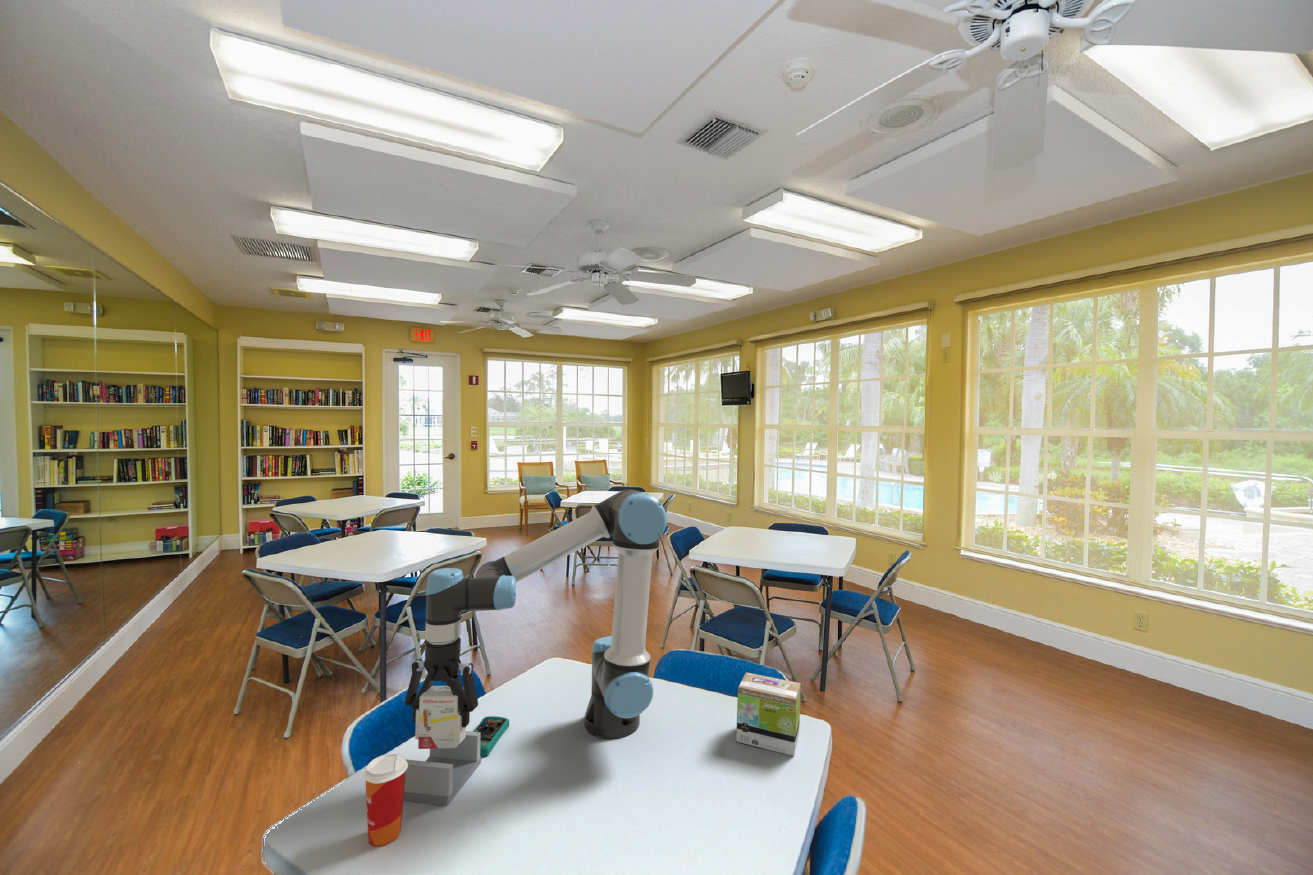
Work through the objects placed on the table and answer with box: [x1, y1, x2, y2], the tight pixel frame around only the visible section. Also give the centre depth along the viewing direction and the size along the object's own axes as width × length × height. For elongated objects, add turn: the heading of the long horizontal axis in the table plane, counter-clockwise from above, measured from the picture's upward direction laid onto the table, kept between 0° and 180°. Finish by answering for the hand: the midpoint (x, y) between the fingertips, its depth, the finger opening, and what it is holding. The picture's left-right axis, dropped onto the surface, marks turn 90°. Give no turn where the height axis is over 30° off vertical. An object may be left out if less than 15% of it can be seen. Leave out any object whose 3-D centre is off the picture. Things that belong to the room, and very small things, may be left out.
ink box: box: [417, 685, 464, 750], centre depth 118 cm, size 9×5×12 cm, turn 95°
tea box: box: [736, 672, 802, 757], centre depth 137 cm, size 15×10×15 cm, turn 68°
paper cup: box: [363, 753, 408, 847], centre depth 102 cm, size 8×8×14 cm
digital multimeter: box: [472, 715, 510, 758], centre depth 135 cm, size 7×15×3 cm, turn 174°
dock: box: [403, 730, 482, 807], centre depth 118 cm, size 12×15×8 cm
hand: (440, 738), depth 118 cm, fingers closed on ink box, 9 cm apart
